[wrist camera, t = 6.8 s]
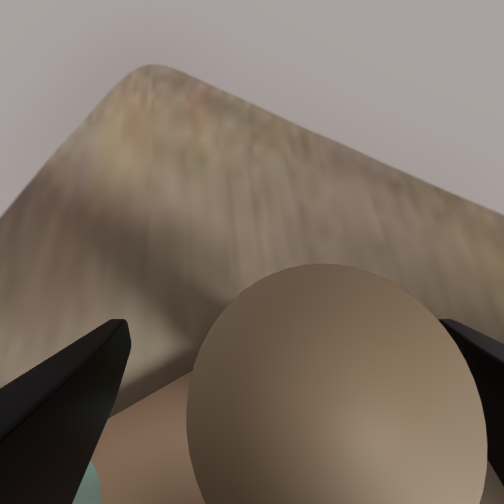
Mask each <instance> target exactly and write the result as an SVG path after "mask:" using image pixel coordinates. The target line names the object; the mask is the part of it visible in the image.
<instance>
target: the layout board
mask: <svg viewBox="0 0 504 504" xmlns="http://www.w3.org/2000/svg"><path fill="white" fill-rule="evenodd" d="M192 371H193V370H192ZM192 371H191V372H189V373H187V374H185V375H184V376H182V377H180V378H178V379H177V380H175V381H173V382H171V383H170V384H168V385H166V386H164V387H163V388H161V389H159V390H158V391H156V392H154V393H152V394H151V395H149V396H147V397H145V398H144V399H142V400H140V401H138V402H137V403H135V404H133V405H131V406H130V407H128V408H126V409H124V410H123V411H121V412H119V413H117V414H116V415H114V416H112V417H110V418H109V419H108V420H107V422H106V425H105V427H104V429H103V432H102V434H101V436H100V439H99V441H98V444H97V446H96V448H95V451H94V453H93V456H92V458H91V460H90V463H89V465H88V467H87V470H86V472H85V475H84V477H83V479H82V482H81V484H80V487H79V489H78V491H77V494H76V496H75V498H74V501H73V503H72V504H206V503H205V502H204V499H203V497H202V494H201V492H200V489H199V486H198V484H197V481H196V478H195V475H194V471H193V467H192V463H191V459H190V455H189V447H188V439H187V431H186V407H187V398H188V389H189V384H190V379H191V375H192Z"/></svg>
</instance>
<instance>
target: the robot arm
mask: <svg viewBox="0 0 504 504" xmlns="http://www.w3.org/2000/svg"><path fill="white" fill-rule="evenodd" d="M438 321H439V322H440V323H441V324H442V325H443V326H444V328H445V329H446V330H447V332H448V333H449V335H450V336H451V337H452V339H453V340H454V342H455V343H456V345H457V346H458V348H459V350H460V352H461V353H462V355H463V357H464V359H465V360H466V362H467V365H468V367H469V369H470V372H471V374H472V376H473V378H474V381H475V384H476V387H477V390H478V393H479V396H480V400H481V403H482V408H483V413H484V418H485V424H486V435H487V459H488V461H489V462H490V464H491V466H492V468H493V469H494V471H495V473H496V474H497V476H498V478H499V479H500V481H501V483H502V485H503V486H504V344H502V343H500V342H498V341H496V340H494V339H492V338H490V337H488V336H486V335H484V334H481V333H479V332H477V331H475V330H473V329H471V328H469V327H467V326H465V325H463V324H461V323H459V322H457V321H454V320H451V319H438ZM130 350H131V338H130V333H129V328H128V323H127V321H126V320H125V319H111V320H109V321H107V322H106V323H104V324H102V325H101V326H99V327H98V328H96V329H94V330H93V331H91V332H90V333H88V334H86V335H85V336H83V337H82V338H80V339H78V340H77V341H75V342H74V343H72V344H71V345H69V346H67V347H66V348H64V349H63V350H61V351H59V352H58V353H56V354H55V355H53V356H51V357H50V358H48V359H47V360H45V361H43V362H42V363H40V364H39V365H37V366H36V367H34V368H32V369H31V370H29V371H28V372H26V373H24V374H23V375H21V376H20V377H18V378H16V379H15V380H13V381H12V382H10V383H8V384H7V385H5V386H4V387H2V388H0V504H72V503H73V501H74V498H75V496H76V494H77V491H78V489H79V487H80V484H81V482H82V479H83V477H84V475H85V472H86V470H87V467H88V465H89V463H90V460H91V458H92V456H93V453H94V451H95V448H96V446H97V444H98V441H99V439H100V436H101V434H102V432H103V429H104V427H105V425H106V422H107V420H108V417H109V415H110V413H111V410H112V408H113V405H114V403H115V400H116V397H117V394H118V391H119V387H120V384H121V380H122V377H123V374H124V370H125V367H126V364H127V360H128V357H129V354H130Z"/></svg>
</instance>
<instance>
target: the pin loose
mask: <svg viewBox="0 0 504 504" xmlns="http://www.w3.org/2000/svg"><path fill="white" fill-rule="evenodd" d="M186 431H187V439H188V447H189V455H190V459H191V463H192V467H193V471H194V475H195V478H196V481H197V484H198V486H199V489H200V492H201V494H202V497H203V499H204V502H205V503H206V504H480V500H481V497H482V493H483V489H484V483H485V476H486V470H487V435H486V424H485V418H484V413H483V408H482V403H481V400H480V396H479V393H478V390H477V387H476V384H475V381H474V378H473V376H472V374H471V372H470V369H469V367H468V365H467V362H466V360H465V359H464V357H463V355H462V353H461V352H460V350H459V348H458V346H457V345H456V343H455V342H454V340H453V339H452V337H451V336H450V335H449V333H448V332H447V330H446V329H445V328H444V326H443V325H442V324H441V323H440V322H439V321H438V320H437V318H436V317H435V316H434V315H433V314H432V313H431V312H430V311H429V310H428V309H427V308H426V307H425V306H424V305H422V304H421V303H420V302H419V301H418V300H417V299H416V298H414V297H413V296H412V295H410V294H409V293H407V292H406V291H405V290H403V289H402V288H400V287H398V286H397V285H395V284H393V283H391V282H390V281H388V280H386V279H384V278H382V277H379V276H377V275H375V274H372V273H370V272H367V271H363V270H360V269H357V268H353V267H347V266H342V265H333V264H313V265H303V266H298V267H293V268H288V269H285V270H282V271H279V272H277V273H274V274H271V275H269V276H267V277H265V278H263V279H261V280H259V281H258V282H256V283H255V284H253V285H252V286H250V287H249V288H247V289H246V290H244V291H243V292H242V293H241V294H240V295H238V296H237V297H236V298H235V299H234V300H233V301H232V302H231V303H230V304H229V305H228V306H227V307H226V308H225V310H224V311H223V312H222V313H221V314H220V315H219V317H218V318H217V320H216V321H215V323H214V324H213V326H212V327H211V328H210V330H209V332H208V334H207V336H206V338H205V340H204V342H203V343H202V345H201V347H200V350H199V353H198V355H197V358H196V361H195V364H194V367H193V371H192V375H191V379H190V384H189V389H188V398H187V407H186Z"/></svg>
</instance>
